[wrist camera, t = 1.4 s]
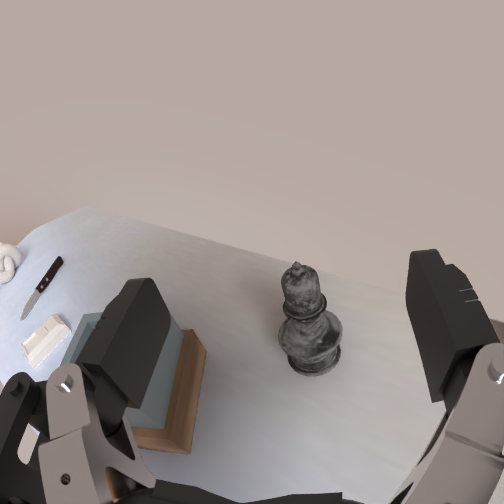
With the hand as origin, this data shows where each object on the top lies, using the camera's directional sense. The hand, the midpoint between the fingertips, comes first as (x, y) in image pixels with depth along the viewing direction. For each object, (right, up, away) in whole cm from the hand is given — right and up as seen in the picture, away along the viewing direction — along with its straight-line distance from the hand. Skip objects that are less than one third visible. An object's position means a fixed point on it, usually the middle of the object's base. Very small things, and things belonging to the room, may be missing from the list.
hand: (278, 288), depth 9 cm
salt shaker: (+5, -9, +20) cm, 23 cm away
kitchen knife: (-43, -7, +44) cm, 62 cm away
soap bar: (-33, -14, +31) cm, 47 cm away
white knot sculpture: (-65, -6, +55) cm, 86 cm away
